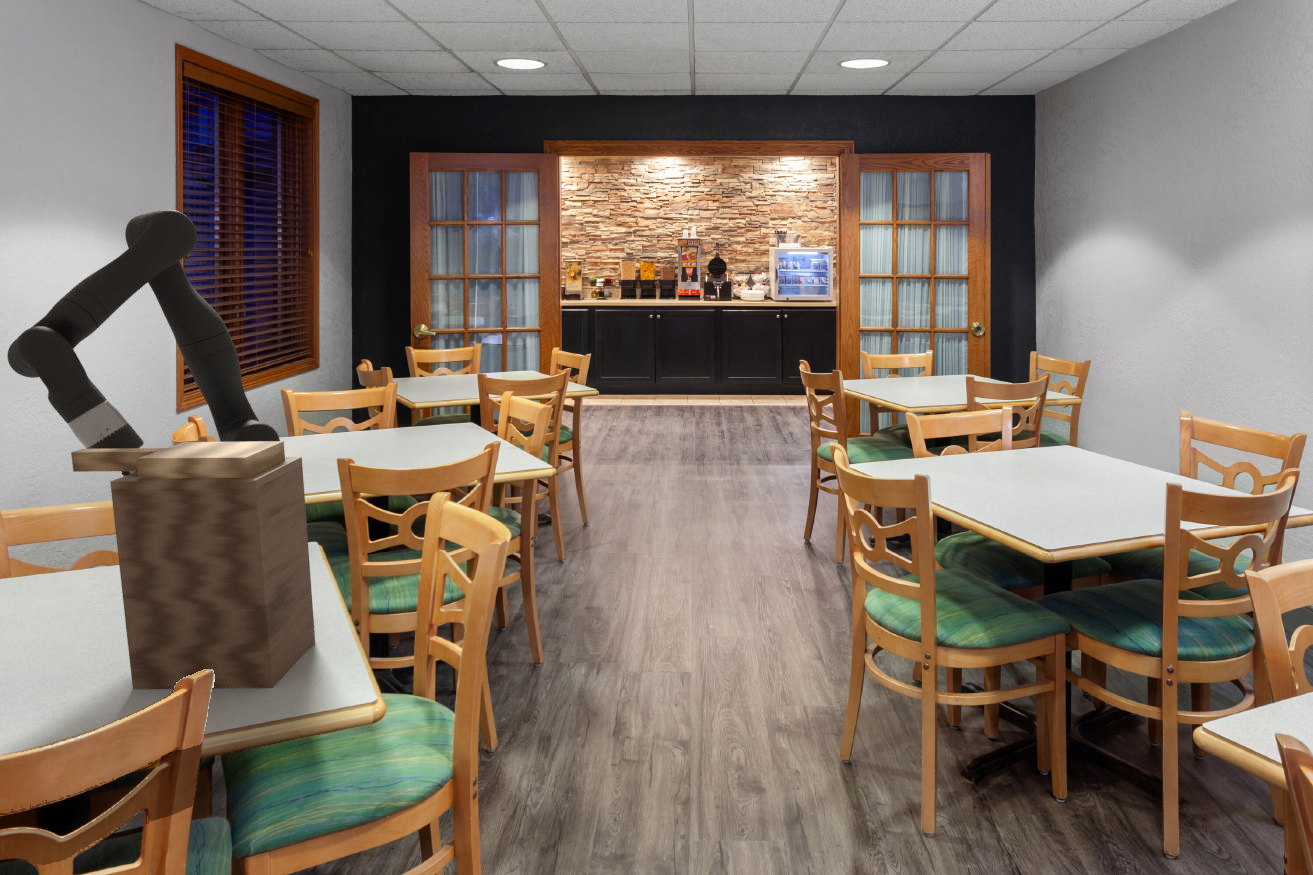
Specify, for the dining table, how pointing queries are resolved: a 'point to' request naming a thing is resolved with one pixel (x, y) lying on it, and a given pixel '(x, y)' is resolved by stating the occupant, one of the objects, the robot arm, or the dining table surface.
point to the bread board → (185, 459)
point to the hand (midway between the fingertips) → (169, 509)
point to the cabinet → (215, 576)
